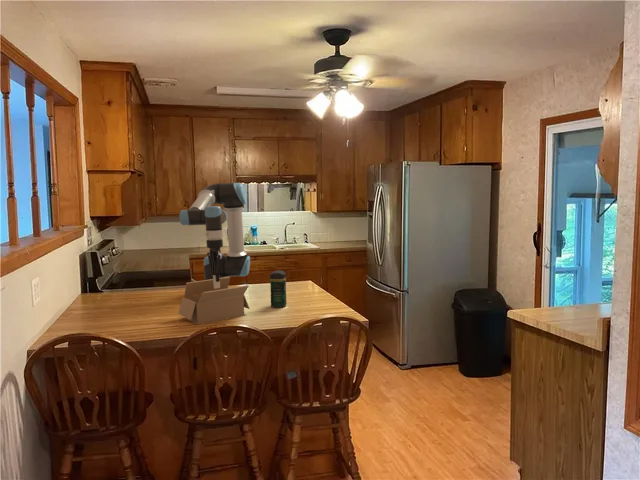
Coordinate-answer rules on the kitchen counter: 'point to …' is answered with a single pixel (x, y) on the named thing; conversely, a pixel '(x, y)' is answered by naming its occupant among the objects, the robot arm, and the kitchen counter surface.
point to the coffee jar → (278, 289)
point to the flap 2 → (223, 293)
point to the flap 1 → (204, 286)
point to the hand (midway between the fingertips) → (216, 287)
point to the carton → (212, 309)
